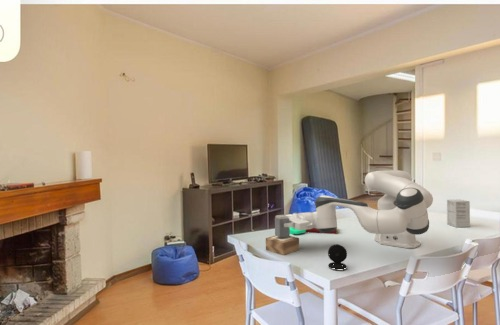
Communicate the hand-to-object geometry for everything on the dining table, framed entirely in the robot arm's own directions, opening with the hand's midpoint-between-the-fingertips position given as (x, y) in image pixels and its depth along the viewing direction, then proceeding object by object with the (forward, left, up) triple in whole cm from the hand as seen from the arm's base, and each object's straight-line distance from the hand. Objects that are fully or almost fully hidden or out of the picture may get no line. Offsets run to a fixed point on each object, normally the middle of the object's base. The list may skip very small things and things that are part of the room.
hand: (280, 223), depth 153 cm
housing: (0, -1, -6) cm, 6 cm away
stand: (0, -1, -13) cm, 13 cm away
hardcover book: (+9, -47, -14) cm, 50 cm away
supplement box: (-48, -121, -14) cm, 131 cm away
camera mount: (+17, -32, -14) cm, 39 cm away
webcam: (-33, +1, -14) cm, 36 cm away
